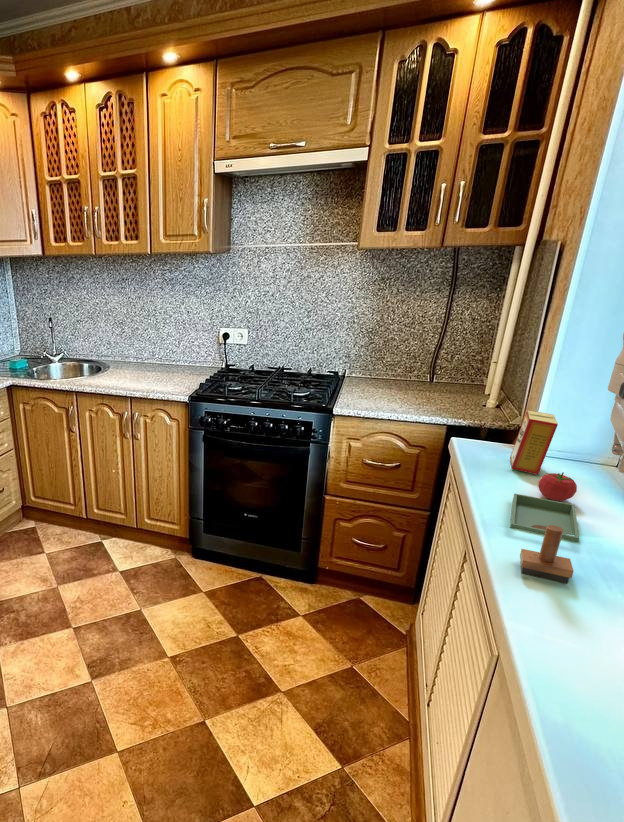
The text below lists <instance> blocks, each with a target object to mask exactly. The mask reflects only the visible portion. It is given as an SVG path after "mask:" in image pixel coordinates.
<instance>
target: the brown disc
mask: <svg viewBox="0 0 624 822" xmlns="http://www.w3.org/2000/svg"><path fill="white" fill-rule="evenodd" d="M532 527H533V528H538V529H543V530H546V528H547V527H545V526H542V525H533V526H532Z"/></svg>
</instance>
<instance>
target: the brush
mask: <svg viewBox="0 0 624 822" xmlns="http://www.w3.org/2000/svg"><path fill="white" fill-rule="evenodd" d="M563 531H564V530H563V529H562V528H561V527H558V526H554V525H548V526H547V528H546V532H545V535H544V534H543V535H544V536H543V538H542V543H541V547H540V550H539V551H535V550H530V549H525V548H521V549H520V553H519V560H520V561H519V562H520V573H521V575H525V576H530V577H534V578H539V579H543V580H546V581H547V580H548V581H552V582H556V583H561V584H564V585H565V584H566V585H568V583H569V579H572V578H573V575H574V568H573V564H572V560H571V558H569V557H564V556H560V555H558V552H559V548H560V545H561V541H562V534H563Z"/></svg>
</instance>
